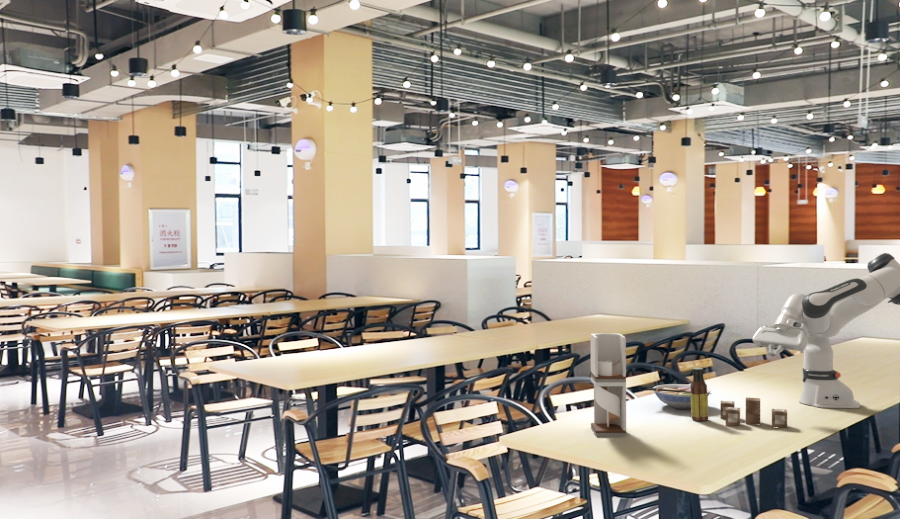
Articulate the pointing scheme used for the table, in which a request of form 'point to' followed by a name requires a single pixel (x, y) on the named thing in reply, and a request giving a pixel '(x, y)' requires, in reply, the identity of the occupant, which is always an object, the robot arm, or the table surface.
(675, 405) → the ramen bowl
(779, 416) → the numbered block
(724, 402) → the white paneled block
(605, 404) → the spiral tower model
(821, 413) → the table surface
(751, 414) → the plain block
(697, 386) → the sauce bottle
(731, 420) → the white-paneled wooden block
